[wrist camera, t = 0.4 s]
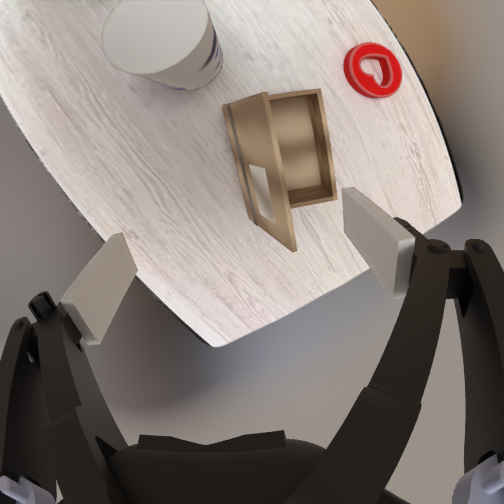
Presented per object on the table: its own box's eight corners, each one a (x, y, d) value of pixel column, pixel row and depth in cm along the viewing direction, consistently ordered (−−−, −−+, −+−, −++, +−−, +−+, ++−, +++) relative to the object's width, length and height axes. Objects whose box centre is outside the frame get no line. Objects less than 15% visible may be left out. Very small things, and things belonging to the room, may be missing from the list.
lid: (225, 106, 31) (221, 107, 31) (267, 91, 20) (260, 92, 20) (252, 217, 38) (248, 218, 38) (297, 250, 28) (291, 252, 27)
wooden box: (225, 106, 38) (221, 105, 32) (308, 92, 37) (320, 88, 31) (247, 201, 45) (248, 217, 39) (324, 186, 44) (337, 199, 38)
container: (233, 73, 35) (225, 41, 18) (173, 101, 37) (121, 94, 19) (207, 23, 31) (183, -34, 13) (150, 51, 32) (89, 19, 15)
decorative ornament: (397, 58, 33) (406, 55, 30) (389, 105, 38) (398, 105, 35) (347, 37, 32) (354, 33, 29) (338, 87, 37) (345, 86, 34)
